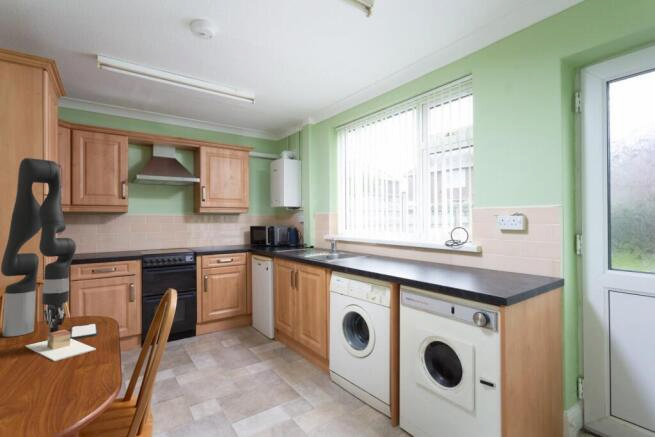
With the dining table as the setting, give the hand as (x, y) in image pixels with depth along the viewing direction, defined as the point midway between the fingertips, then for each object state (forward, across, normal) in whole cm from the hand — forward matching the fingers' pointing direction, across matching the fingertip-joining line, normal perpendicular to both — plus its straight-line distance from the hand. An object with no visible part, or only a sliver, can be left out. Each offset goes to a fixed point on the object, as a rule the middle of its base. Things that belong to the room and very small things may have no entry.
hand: (53, 336), depth 117 cm
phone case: (+4, -8, +13) cm, 15 cm away
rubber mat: (+3, +6, 0) cm, 7 cm away
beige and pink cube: (+3, +4, 0) cm, 5 cm away
